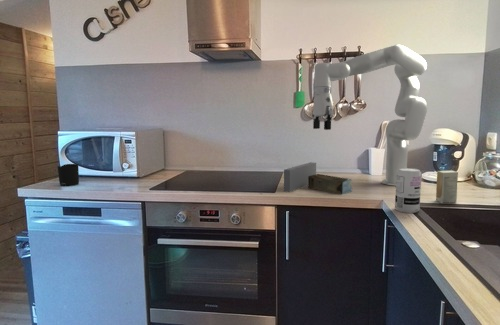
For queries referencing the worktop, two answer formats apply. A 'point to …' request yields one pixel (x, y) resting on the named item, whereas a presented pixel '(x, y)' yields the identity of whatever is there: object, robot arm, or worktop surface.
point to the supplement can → (408, 190)
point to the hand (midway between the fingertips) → (321, 129)
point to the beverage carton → (330, 184)
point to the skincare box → (446, 186)
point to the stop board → (298, 176)
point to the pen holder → (68, 174)
